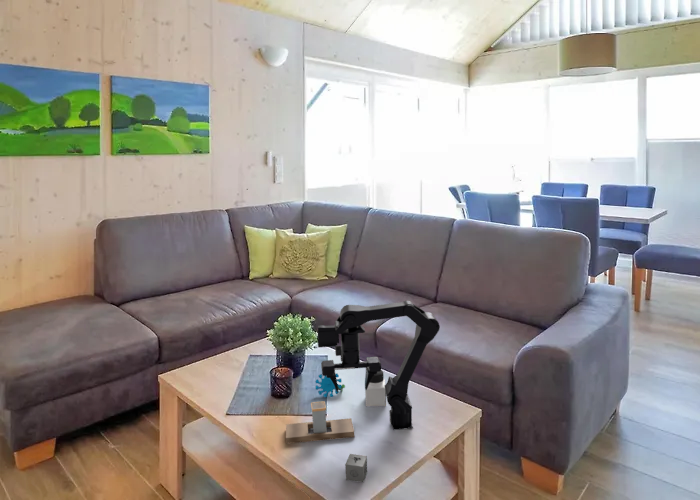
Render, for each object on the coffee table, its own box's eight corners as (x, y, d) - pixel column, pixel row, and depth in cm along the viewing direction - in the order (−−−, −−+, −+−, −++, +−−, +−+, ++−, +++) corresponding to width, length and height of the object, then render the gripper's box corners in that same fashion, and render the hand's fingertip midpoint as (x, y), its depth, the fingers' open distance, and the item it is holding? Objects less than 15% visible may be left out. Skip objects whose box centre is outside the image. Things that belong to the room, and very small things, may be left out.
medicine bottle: (386, 406, 185) (385, 375, 182) (365, 407, 185) (364, 375, 182) (385, 396, 192) (384, 366, 189) (365, 397, 192) (364, 366, 189)
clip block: (325, 429, 172) (324, 401, 170) (327, 436, 168) (326, 408, 166) (312, 430, 171) (310, 402, 169) (313, 438, 167) (312, 409, 165)
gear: (311, 393, 193) (319, 367, 197) (314, 397, 198) (321, 372, 202) (340, 400, 190) (347, 373, 195) (342, 404, 195) (349, 378, 200)
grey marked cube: (367, 471, 150) (366, 455, 149) (363, 482, 145) (362, 466, 144) (350, 469, 151) (349, 453, 150) (345, 480, 147) (345, 464, 145)
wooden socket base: (351, 423, 175) (351, 418, 174) (354, 437, 167) (354, 431, 166) (286, 429, 172) (286, 424, 172) (286, 443, 165) (285, 438, 164)
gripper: (375, 333, 175) (376, 377, 179) (319, 337, 173) (321, 381, 177) (381, 346, 164) (381, 392, 168) (321, 351, 162) (323, 397, 166)
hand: (351, 390), depth 170 cm, fingers open, 9 cm apart
